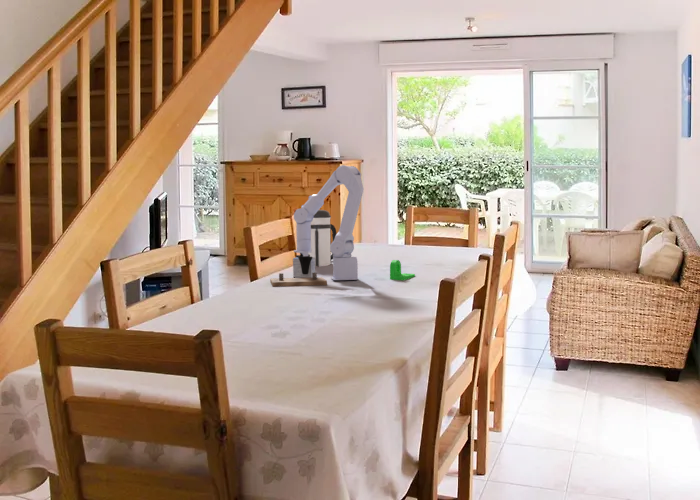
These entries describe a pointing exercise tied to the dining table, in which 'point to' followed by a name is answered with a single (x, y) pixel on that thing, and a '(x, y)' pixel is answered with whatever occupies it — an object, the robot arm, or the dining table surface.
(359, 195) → the robot arm
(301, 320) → the dining table surface
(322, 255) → the coffee press
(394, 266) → the mechanical part
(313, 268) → the medicine box
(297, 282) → the walnut board
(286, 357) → the dining table surface
